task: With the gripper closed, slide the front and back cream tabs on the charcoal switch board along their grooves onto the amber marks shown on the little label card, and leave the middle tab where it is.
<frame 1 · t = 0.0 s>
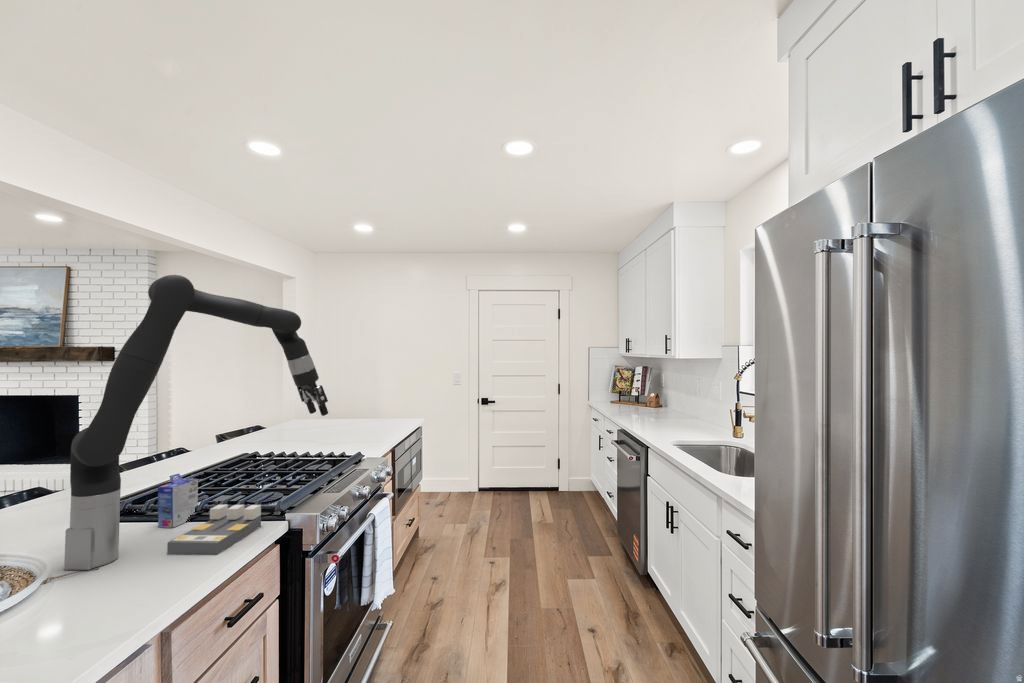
hand: (319, 413, 159), 31 cm above the countertop, fingers open, 8 cm apart
middle tab: (235, 512, 137), point 5 cm above the countertop, slide at 0.0 cm
ink cartridge box: (177, 522, 143), on the countertop
front tab: (252, 512, 137), point 5 cm above the countertop, slide at 0.0 cm
switch board: (217, 539, 129), on the countertop
back tab: (219, 511, 138), point 5 cm above the countertop, slide at 0.0 cm
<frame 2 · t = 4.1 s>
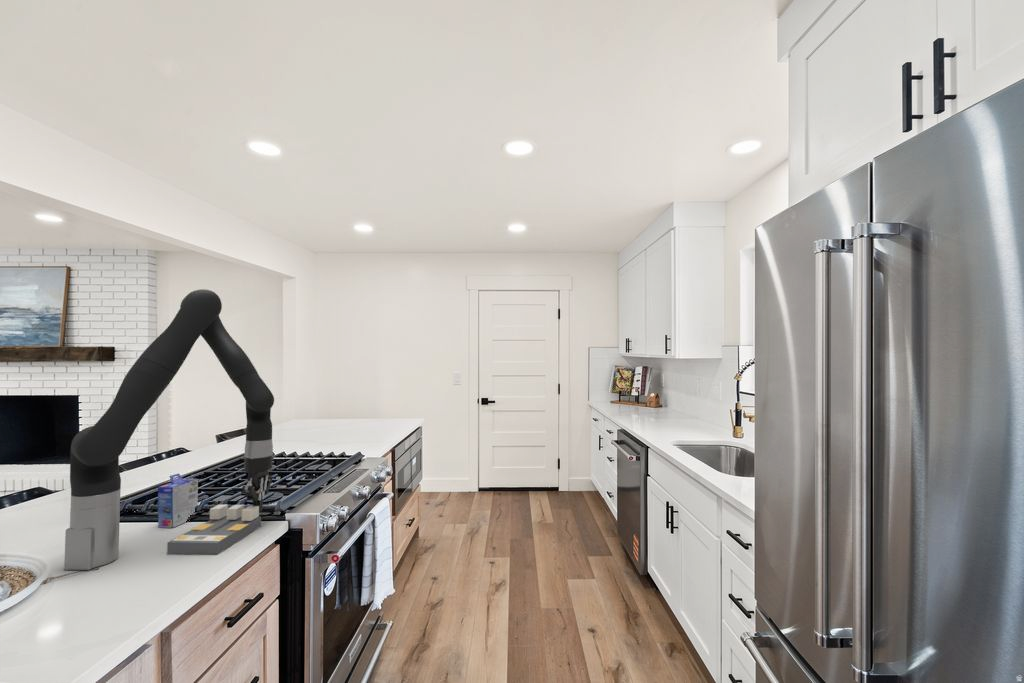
hand: (257, 512, 140), 4 cm above the countertop, fingers closed
front tab: (250, 513, 136), point 5 cm above the countertop, slide at 1.0 cm, touching gripper
everything else where it was.
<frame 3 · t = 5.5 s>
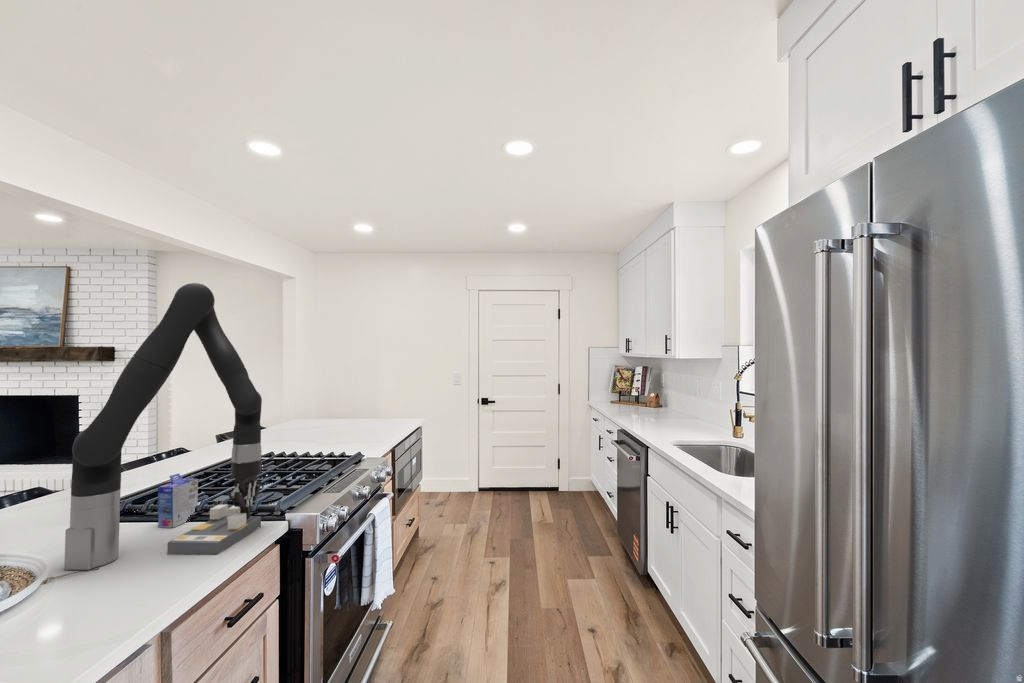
hand: (245, 519, 134), 4 cm above the countertop, fingers closed
front tab: (237, 520, 130), point 5 cm above the countertop, slide at 7.4 cm, touching gripper
everything else where it was.
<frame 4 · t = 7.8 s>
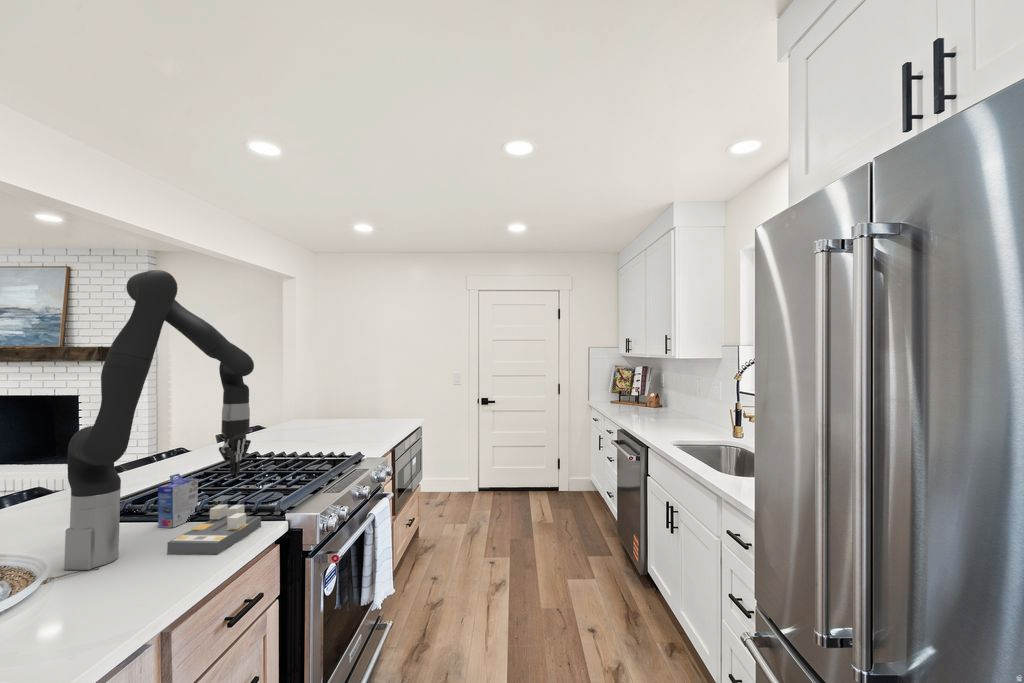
hand: (234, 473, 145), 14 cm above the countertop, fingers closed
front tab: (236, 521, 130), point 5 cm above the countertop, slide at 7.5 cm
everything else where it was.
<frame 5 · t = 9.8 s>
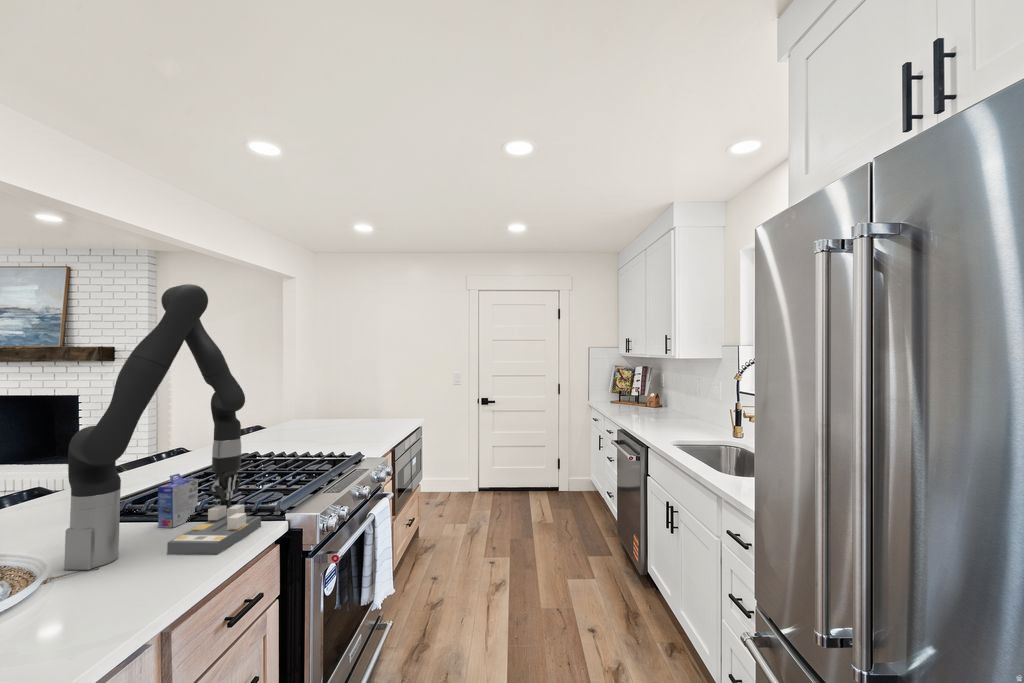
hand: (225, 511, 141), 4 cm above the countertop, fingers closed
back tab: (217, 512, 137), point 5 cm above the countertop, slide at 0.8 cm, touching gripper
everything else where it was.
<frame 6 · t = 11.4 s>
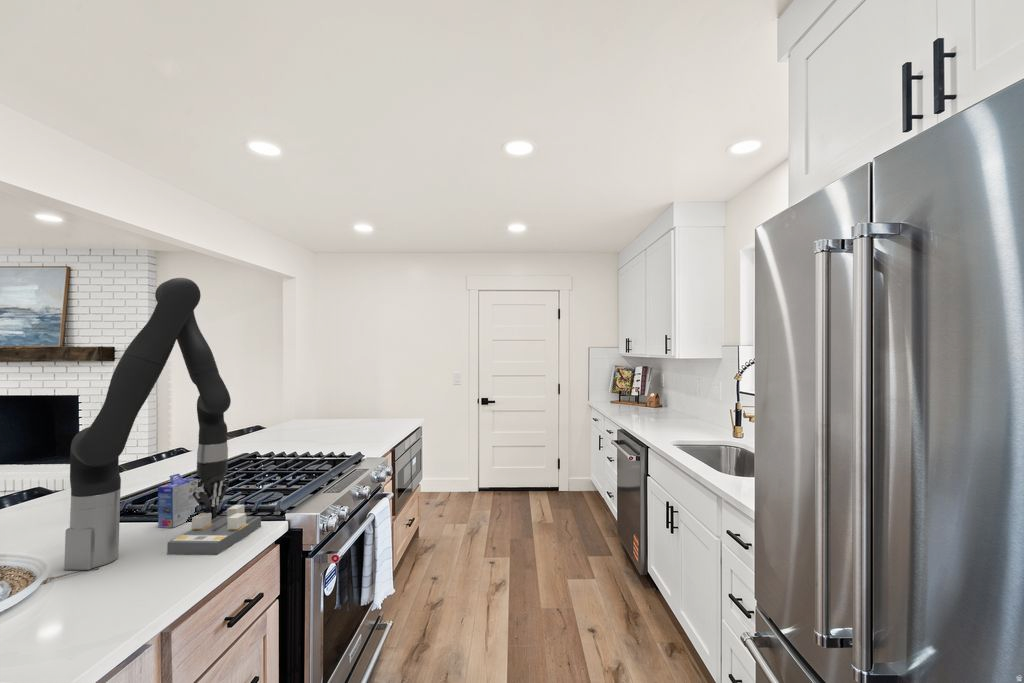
hand: (211, 518, 134), 4 cm above the countertop, fingers closed
back tab: (201, 520, 130), point 5 cm above the countertop, slide at 7.5 cm, touching gripper
everything else where it was.
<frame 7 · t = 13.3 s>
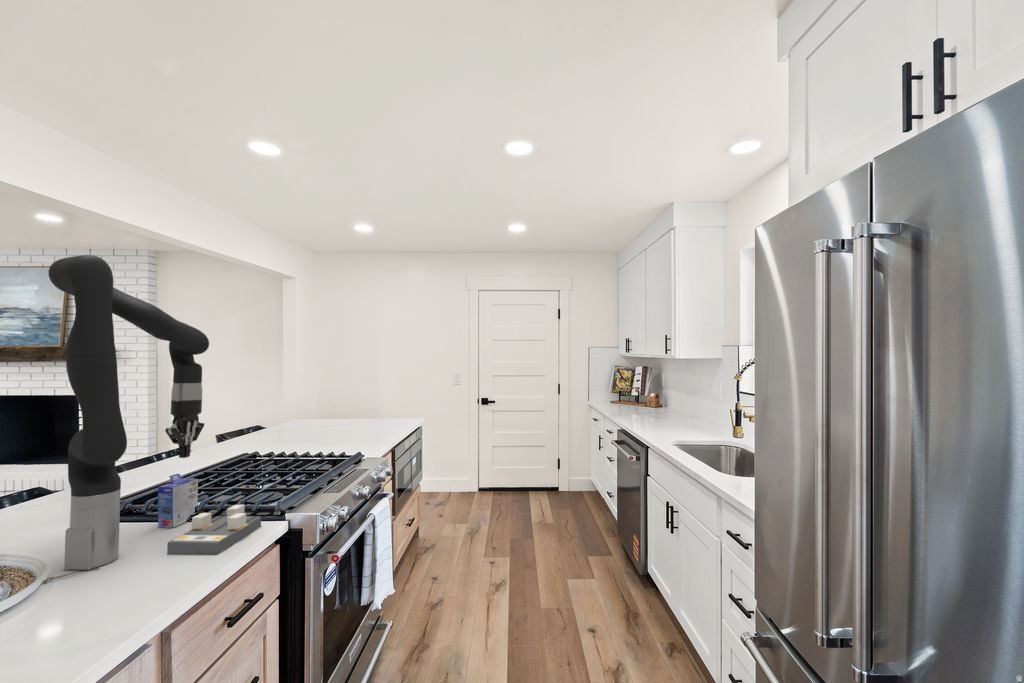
hand: (184, 457, 137), 21 cm above the countertop, fingers closed
back tab: (201, 520, 130), point 5 cm above the countertop, slide at 7.5 cm
everything else where it was.
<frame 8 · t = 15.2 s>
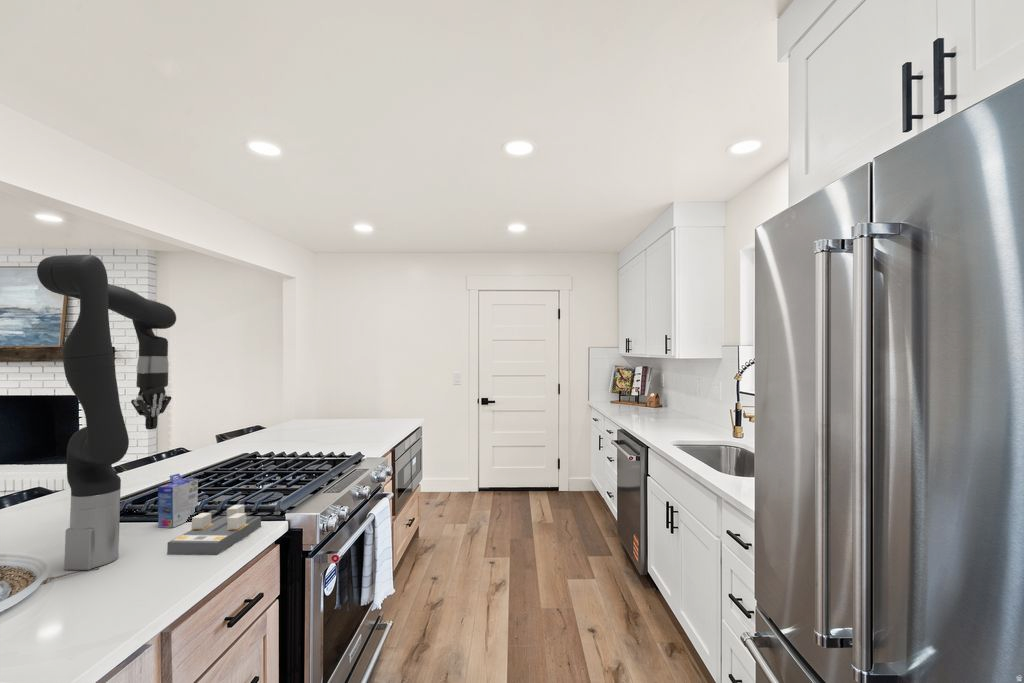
hand: (151, 429, 140), 29 cm above the countertop, fingers closed
nothing on the countertop moved.
at the end: front tab slide at 7.5 cm; back tab slide at 7.5 cm; middle tab slide at 0.0 cm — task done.
